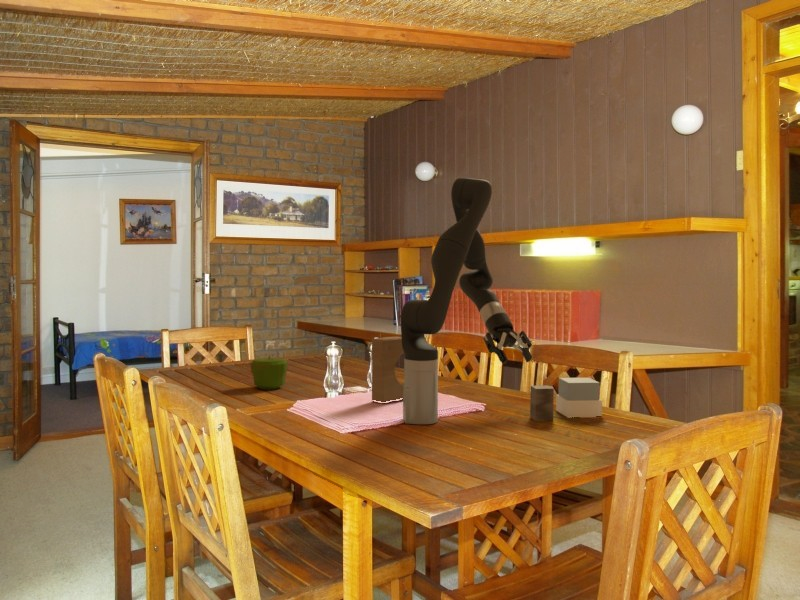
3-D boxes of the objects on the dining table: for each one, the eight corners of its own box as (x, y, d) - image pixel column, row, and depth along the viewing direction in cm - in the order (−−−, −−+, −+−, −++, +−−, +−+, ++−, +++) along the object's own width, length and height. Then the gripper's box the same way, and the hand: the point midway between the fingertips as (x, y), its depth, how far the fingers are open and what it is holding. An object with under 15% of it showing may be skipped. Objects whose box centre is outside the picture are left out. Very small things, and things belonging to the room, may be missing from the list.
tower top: (568, 400, 191) (568, 382, 191) (558, 394, 200) (558, 377, 200) (599, 400, 192) (599, 382, 191) (588, 394, 201) (588, 377, 200)
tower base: (567, 418, 190) (567, 401, 190) (556, 411, 200) (556, 394, 200) (601, 417, 191) (602, 400, 191) (588, 410, 201) (588, 394, 201)
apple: (292, 385, 241) (292, 354, 241) (278, 391, 230) (278, 358, 229) (260, 384, 244) (260, 353, 244) (245, 390, 232) (244, 357, 232)
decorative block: (395, 397, 220) (395, 336, 219) (408, 399, 216) (408, 337, 215) (370, 401, 212) (370, 338, 211) (383, 404, 208) (383, 339, 207)
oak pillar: (535, 421, 186) (535, 388, 185) (530, 417, 191) (530, 385, 190) (553, 420, 186) (553, 388, 186) (547, 417, 191) (547, 385, 191)
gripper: (481, 312, 202) (502, 354, 193) (520, 311, 209) (543, 352, 199) (471, 328, 207) (492, 370, 198) (510, 326, 214) (531, 367, 204)
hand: (517, 361), depth 198 cm, fingers open, 8 cm apart
